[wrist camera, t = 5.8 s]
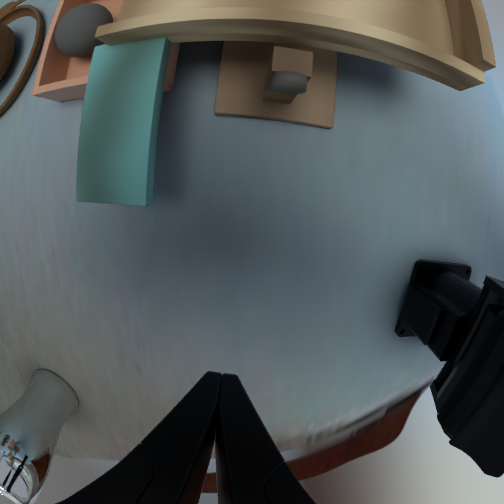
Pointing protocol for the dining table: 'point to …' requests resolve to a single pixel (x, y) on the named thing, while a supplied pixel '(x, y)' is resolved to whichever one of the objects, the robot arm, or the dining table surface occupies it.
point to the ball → (81, 29)
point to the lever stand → (277, 82)
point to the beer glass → (33, 435)
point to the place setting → (3, 45)
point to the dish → (78, 60)
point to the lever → (250, 29)
